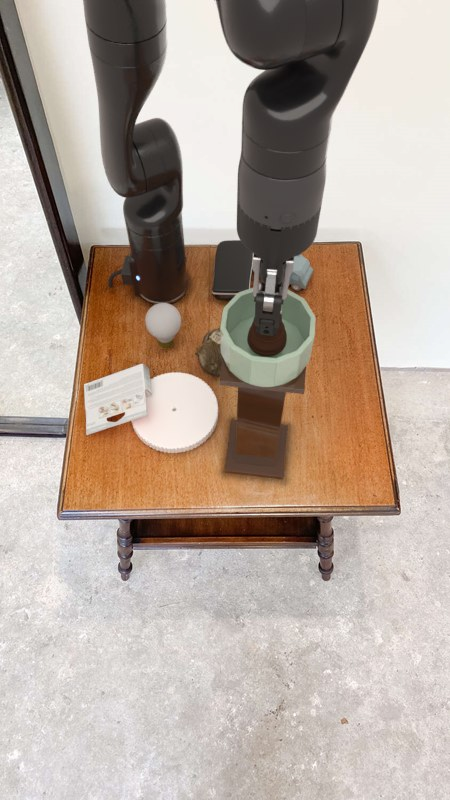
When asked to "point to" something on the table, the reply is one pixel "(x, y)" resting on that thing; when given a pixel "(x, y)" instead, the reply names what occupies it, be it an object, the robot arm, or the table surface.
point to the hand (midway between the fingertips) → (268, 311)
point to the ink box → (117, 398)
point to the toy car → (300, 273)
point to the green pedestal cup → (262, 383)
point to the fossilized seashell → (211, 353)
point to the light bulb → (163, 323)
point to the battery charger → (231, 269)
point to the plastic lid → (177, 413)
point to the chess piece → (267, 340)
